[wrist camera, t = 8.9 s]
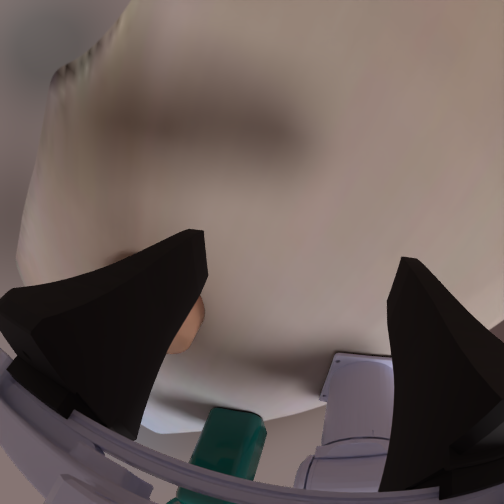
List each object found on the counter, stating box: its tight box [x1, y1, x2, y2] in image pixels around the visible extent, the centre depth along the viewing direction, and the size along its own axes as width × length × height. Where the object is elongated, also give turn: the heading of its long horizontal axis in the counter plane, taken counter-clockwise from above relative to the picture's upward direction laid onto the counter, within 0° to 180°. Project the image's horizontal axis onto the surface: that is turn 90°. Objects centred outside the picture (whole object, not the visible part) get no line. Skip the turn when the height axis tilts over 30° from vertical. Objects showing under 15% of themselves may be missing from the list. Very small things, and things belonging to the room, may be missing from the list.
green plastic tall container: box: [167, 408, 267, 504], centre depth 31 cm, size 10×8×22 cm
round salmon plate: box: [166, 296, 205, 354], centre depth 27 cm, size 10×10×4 cm
